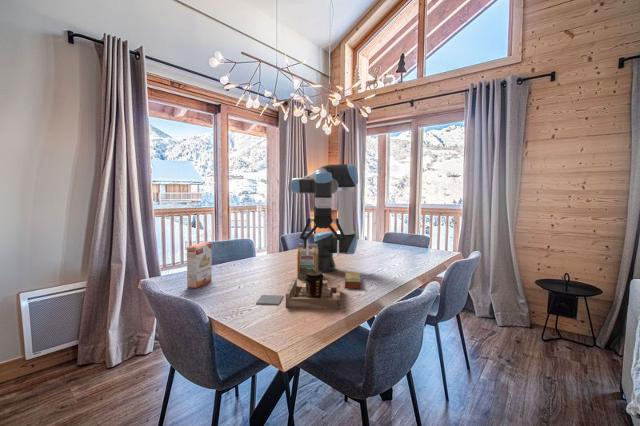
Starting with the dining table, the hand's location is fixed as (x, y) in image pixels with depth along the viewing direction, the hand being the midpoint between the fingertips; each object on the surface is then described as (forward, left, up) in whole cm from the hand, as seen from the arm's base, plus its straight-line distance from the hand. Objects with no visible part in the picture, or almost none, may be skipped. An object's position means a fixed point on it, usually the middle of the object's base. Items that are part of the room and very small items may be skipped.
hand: (322, 255), depth 136 cm
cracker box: (-18, -66, -21) cm, 71 cm away
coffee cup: (+1, -4, -21) cm, 21 cm away
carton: (-25, +14, -22) cm, 36 cm away
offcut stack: (-9, -4, -21) cm, 23 cm away
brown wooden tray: (-2, -4, -21) cm, 21 cm away
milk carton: (-37, -11, -21) cm, 44 cm away
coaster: (+2, -24, -21) cm, 32 cm away
